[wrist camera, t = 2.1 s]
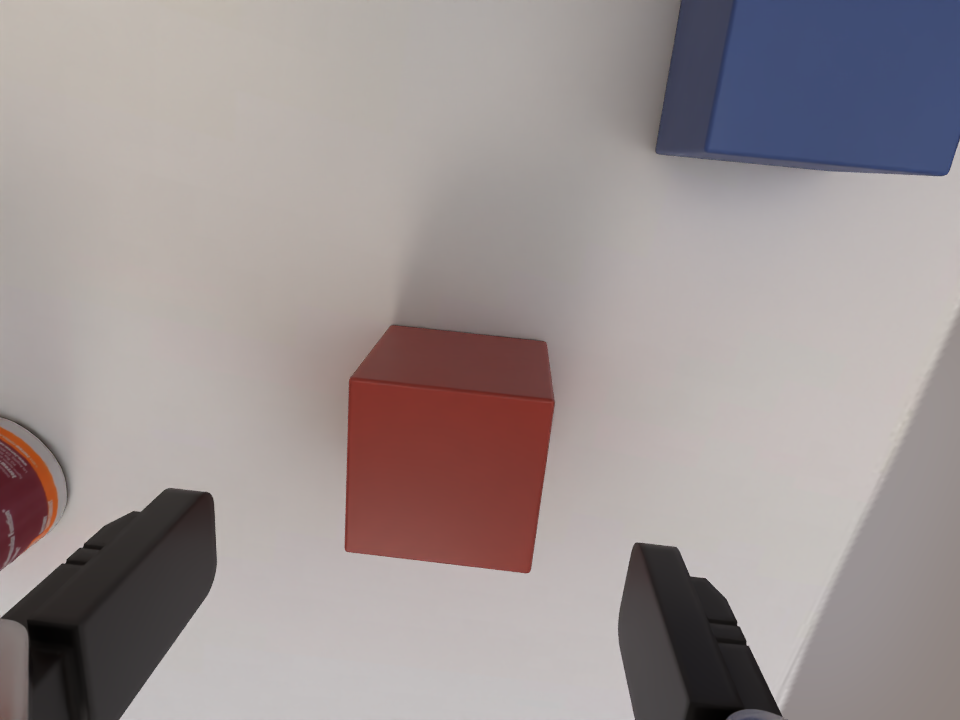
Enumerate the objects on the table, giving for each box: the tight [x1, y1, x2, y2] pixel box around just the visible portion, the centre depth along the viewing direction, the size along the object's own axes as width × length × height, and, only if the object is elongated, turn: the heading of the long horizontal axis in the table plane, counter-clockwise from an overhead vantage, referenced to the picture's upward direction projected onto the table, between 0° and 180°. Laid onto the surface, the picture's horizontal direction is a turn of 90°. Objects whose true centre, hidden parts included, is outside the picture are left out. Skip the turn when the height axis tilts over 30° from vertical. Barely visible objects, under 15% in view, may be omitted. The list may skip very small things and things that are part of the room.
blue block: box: [656, 0, 960, 176], centre depth 13 cm, size 5×5×5 cm
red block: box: [345, 325, 555, 573], centre depth 16 cm, size 5×5×5 cm
